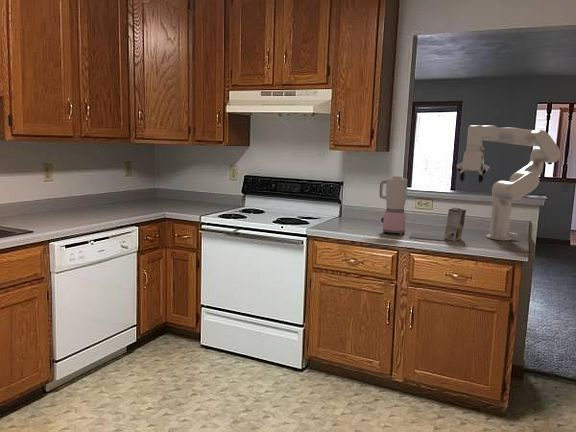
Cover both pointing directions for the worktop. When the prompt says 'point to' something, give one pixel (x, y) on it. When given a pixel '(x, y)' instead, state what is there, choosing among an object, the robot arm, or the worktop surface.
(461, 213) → the coffee box
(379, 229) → the worktop surface
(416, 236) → the mat
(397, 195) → the blender
